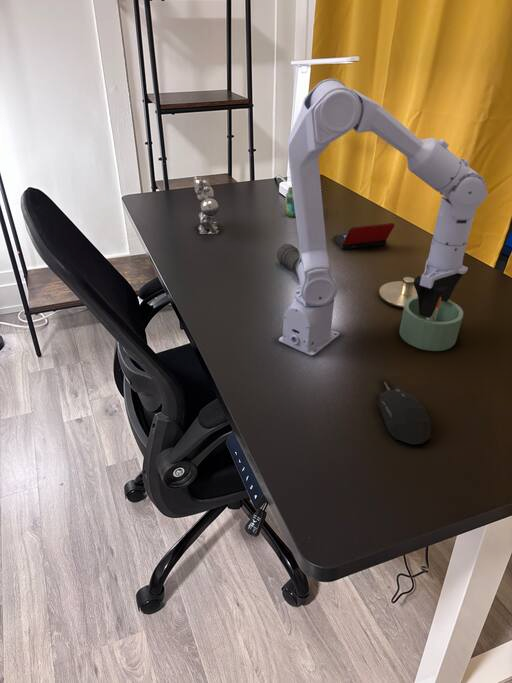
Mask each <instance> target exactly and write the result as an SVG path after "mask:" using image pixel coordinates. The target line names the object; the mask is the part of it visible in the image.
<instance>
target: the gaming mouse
mask: <svg viewBox="0 0 512 683" xmlns="http://www.w3.org/2000/svg"><path fill="white" fill-rule="evenodd" d="M383 385H384V386H385V388H386V390H385V391H383V392H382V393H380V394H379V398H378V401H377V404H378V408H379V410H380V413H381V416H382V418H383V421H384V424H385V426H386V429H387V431H388V432H389V434H390V435H391V436H392V437H393V439H396V440H398V441H401V442H404V443H406V444H409V445H420V444H423V443H425V442H426V441H427V440H429V439H430V438H431V434H432V421H431V420H430V417H429V415H428V412H427V410H426V408H425V407H424V405H423V404H422V403H421V401H420V400H418V398H416V396H414V395H413V394H411V393H409V392H406V391H403V390H401V389H400V388H395V389H392V388H391V387H389V385H388V383H387V382H386V381H384V382H383Z"/></svg>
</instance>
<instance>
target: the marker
mask: <svg viewBox="0 0 512 683" xmlns="http://www.w3.org/2000/svg"><path fill="white" fill-rule="evenodd" d="M440 302H441V297H440V299H439V301H438V303H437V305H436V308H435V310H434V313H433V314H432V316H431V317H430V318H428V317H427V318H426V320H430V321H436V317H437V313H438V309H439V306H440Z"/></svg>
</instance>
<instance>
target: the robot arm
mask: <svg viewBox="0 0 512 683" xmlns="http://www.w3.org/2000/svg"><path fill="white" fill-rule="evenodd" d="M352 129H353V130H354V132H355V133H357V134H360V133H361V134H362V133H369V132H371V133H373V134H375V135H376V136H378V137H379V138H380V139H381V140H383V141H384V142H386V143H387V144H388V145H390V146H392V148H393V149H394V150H395V149H396V150H397V151H398V152H399V153H401V154H403V155H404V156H405V157H406V161H407V162H406V163H407V164H406V165H407V169H408V171H410V172H411V173H412V174H413V175H415V177H417V178H419V179H420V180H421V181H422V182H424V183H425V184H427V185H428V186H429V187H430V188H432V189H433V190H434V191H436V192H438V193H439V194H440V195H441V197H440V198H441V199H440V204H439V209H438V211H437V216H436V221H435V226H434V230H433V235H432V238H431V239H432V240H431V244H430V248H429V253H428V256H427V257H428V258H427V259H426V261H425V267H424V272H423V273H422V275H421V276H420V275H418V276H416V277H415V278H413V279H414V287H415V289H416V292H417V295H418V303H419V314H420V315H422V316H425V317H428V318H430V317H431V316H432V314H433V313H434V310H435V308H436V305H437V303H438V301H439V299H440V297H441V300H442V301H445V302H447V301H448V300H450V298H451V296H452V294H453V293H454V290H455V288H456V287H457V284H458V283H459V281H460V280H461V278H462V277H463V276H464V274H465V273H467V272H468V270H469V267H468V265H466V264H463V261H464V257H465V253H466V250H467V249H466V248H467V246H468V245H467V244H468V241H469V237H470V234H471V230H472V227H473V221H474V219H475V216H476V215H475V214H476V211H477V209H478V208H479V206H481V205H482V204H483V202H485V200H486V198H487V197H488V194H489V192H488V191H487V184H486V179H485V178H484V177H483V176H482V175H481V174H480V173H478V172H477V171H475V170H474V169H473V168H471V167H470V166H469V164H470V162H469V161H468V160H467V159H466V158H464V157H462V158H461V159H460V158H459V157H458V156H457V155H456V154H454V153H453V152H452V151H451V150H450V149H448V147H449V146H450V145H449V143H448V142H446V141H445V140H444V139H442V138H439V139H438V140H437V139H436V138H434V137H428V138H422V139H420V138H419V137H418V136H417V135H415V134H414V133H413V132H412V131H411V130H410V129H409V128H408V127H406V126H405V125H404V124H403V123H402V122H401V121H400V120H398V119H397V118H396V117H394V115H393V114H391V113H390V112H388V110H387V109H385V108H384V107H383V106H381V105H380V103H378V102H376V101H375V100H373V99H372V98H370V97H368V96H366V95H365V94H363V93H361V92H359V91H357V90H355V89H354V88H352V87H351V88H349V87H347V86H346V84H345V83H344V82H342V81H341V80H339V79H337V78H327V79H324V80H321V81H320V82H318V83H317V84H316V85H315V86H314V87H313V88H312V89H311V90H310V91H309V93H308V94H307V95H306V96H305V97H304V98H303V101H302V104H301V108H300V110H299V113H298V115H297V118H296V119H295V122H294V124H293V126H292V129H291V131H290V134H289V137H288V138H287V141H286V150H287V151H286V152H287V158H288V159H287V160H288V166H289V175H290V182H291V187H292V191H293V199H294V207H295V215H296V216H295V222H296V231H297V238H298V246H299V248H298V250H299V253H300V258H299V262H298V264H297V268H296V271H297V275H298V277H299V278H298V277H297V278H298V281H299V285H298V286H297V288H296V290H295V292H294V299H293V301H292V303H291V305H290V306H289V307H288V308H287V309H286V310H285V311H284V314H283V318H282V321H283V322H282V336H280V337H279V338H278V342H279V343H282V344H284V345H287V346H288V347H291V348H293V349H295V350H297V351H299V352H302V353H304V354H306V355H308V356H311V357H313V356H315V355H316V354H318V353H319V352H320V351H321V350H323V349H324V348H325V347H326V346H328V345H329V344H331V342H333V341H334V340H335V339H337V338H338V337H339V336H340V332H339V331H337V330H334V329H332V324H333V314H334V307H335V306H334V304H335V298H336V296H337V294H338V284H337V281H336V280H335V277H334V275H333V272H332V269H331V264H330V259H329V255H328V249H327V237H326V236H327V235H326V227H325V226H326V225H325V216H324V205H323V196H322V195H323V194H322V182H321V172H320V161H319V157H320V156H321V154H322V153H323V152H324V151H325V150H326V148H327V147H328V146H330V144H331V143H332V142H335V141H336V140H337V139H339V138H341V137H343V136H344V135H346V134H348V133H349V132H350V131H352Z"/></svg>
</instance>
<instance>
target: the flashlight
mask: <svg viewBox="0 0 512 683" xmlns="http://www.w3.org/2000/svg"><path fill="white" fill-rule="evenodd" d="M276 258H277V261H278V262H279V264H281V265H282V266H283V267H285V268H288V269H289V270H291V271H292V272H293V274H294V275H295V276H296V277H297V278H298V279H299V277H298V275H297V271H296V268H297V264H298V262H299V258H300V253H299V248H297V247H296V246H295V245H293V244H291V243H284V244H282V245H280V246H279V248H278V249H277V252H276Z"/></svg>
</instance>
